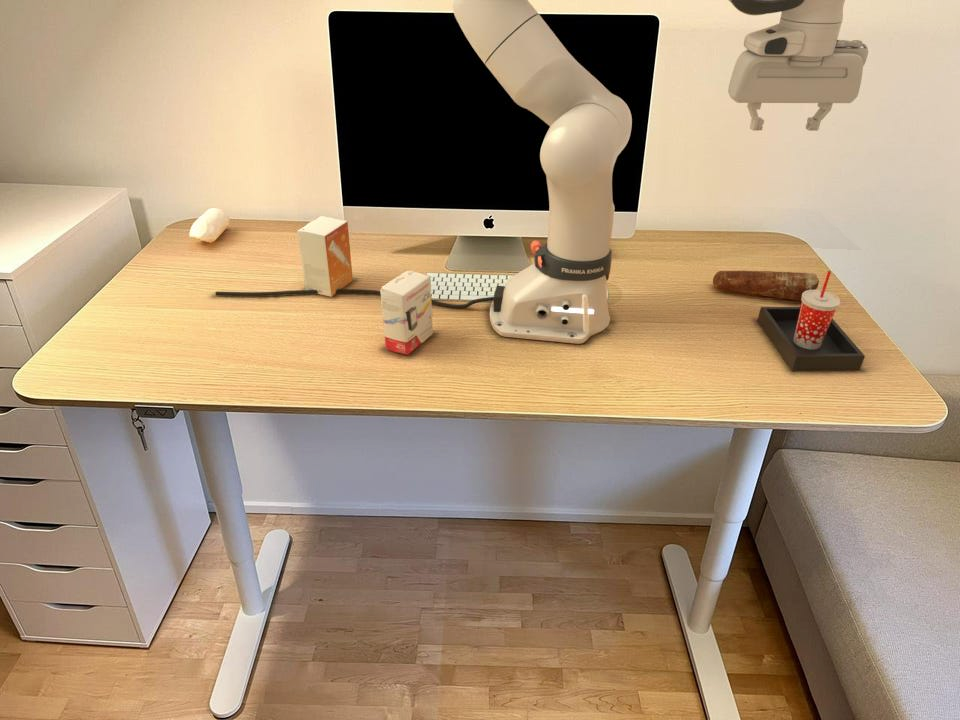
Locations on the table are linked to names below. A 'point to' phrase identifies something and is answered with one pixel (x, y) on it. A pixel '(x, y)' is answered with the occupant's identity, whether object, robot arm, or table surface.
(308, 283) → the small box
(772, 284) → the bread
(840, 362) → the tray
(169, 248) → the table surface
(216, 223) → the roll
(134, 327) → the table surface
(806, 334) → the beverage cup
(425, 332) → the ink box
